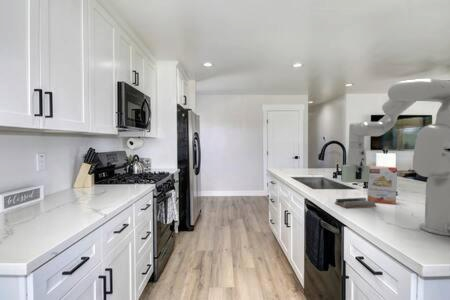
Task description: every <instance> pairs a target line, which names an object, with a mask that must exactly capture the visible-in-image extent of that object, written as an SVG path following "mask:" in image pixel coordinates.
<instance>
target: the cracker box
mask: <svg viewBox="0 0 450 300" xmlns="http://www.w3.org/2000/svg"><path fill="white" fill-rule="evenodd" d="M397 176H398V168H397V167H396V166H384V165H383V166H379V165H377V166H376V165H370V177H369V182H367V201H375V203H379V204H388V205H396V203H397V183H398V182H397V180H398V177H397Z"/></svg>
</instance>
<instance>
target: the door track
mask: <svg viewBox="0 0 450 300" xmlns="http://www.w3.org/2000/svg"><path fill="white" fill-rule="evenodd" d="M334 204H335V205H337V206H339V207H342V208H343V209H360V208H361V209H362V208H363V209H364V208H365V209H366V208H376V207H377V205H376V202H375V201H368V200H367V197H353V198H352V197H350V198H336V199H335V202H334Z"/></svg>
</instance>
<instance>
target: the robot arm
mask: <svg viewBox="0 0 450 300" xmlns="http://www.w3.org/2000/svg"><path fill="white" fill-rule="evenodd" d="M387 97H388V100H386V101H385V102H384V103H383V104H382V106H381V110H382V112H383V113H384V116H383V117H382V118H380V119H379V120H378V121H361V122H352V123H350V124H349V129H348V130H349V131H348V133H349V134H348V149H347V156H346V157H347V159H346V161H347V163H346V165H354V166H356V170H357V172H356V179H361V178H362V172H363V169H364V168H366V165H367V152H366V149H365V137H380V136H382V135H384V134H386V133H387V132H389V131H390V130H391V129H392V128H393V127H394V126H395V125H396V123H397V122H398V121H397V120H398V117H399V116H400V115H401V114H403V113H404V112H405V111H406V110H408V109H409V108H410V107H411V106H412V105H414V104H415V103H416V102H433V103H434V102H435V103H441V105H440V107H439V108H438V110H437V113H436V116H435V117H436V118H435V122H434V123H430V124H428V125H425V126H423V127H422V128H421V129H420V130H419V131H418V132H417V136H416V138H415V144H414V151H413V154H412V155H413V156H412V168H413V170H414V171H415V173H416V174H417V175H419V176H421V177H424V178H425V177H426V178H427V179H426V182H425V183H426V185H425V201H424V202H425V204H424V207H425V208H424V222H421V223H420V224H419V228H420V229H422V230H423V231H425V232H427V233H431V234H436V235H441V236H447V237H449V236H450V152H447V151H444V149H445V150H448V149H450V80H446V79H445V80H444V79H436V78H422V79H421V78H419V79H411V80H410V79H409V80H401V81H397V82H395V83H393V84H391V85H390V87H389V88H388V90H387ZM359 167H360V168H359Z"/></svg>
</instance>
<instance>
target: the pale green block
mask: <svg viewBox="0 0 450 300" xmlns="http://www.w3.org/2000/svg"><path fill="white" fill-rule="evenodd" d="M370 166H371V165H369V164H366V168H364V169H363V172H362V178H361V179H356V172H357V170H356V166H354V165H347V164H343V165H342V164H341V182H344V183H368V182H369V177H370ZM359 168H360V167H359Z"/></svg>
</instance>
